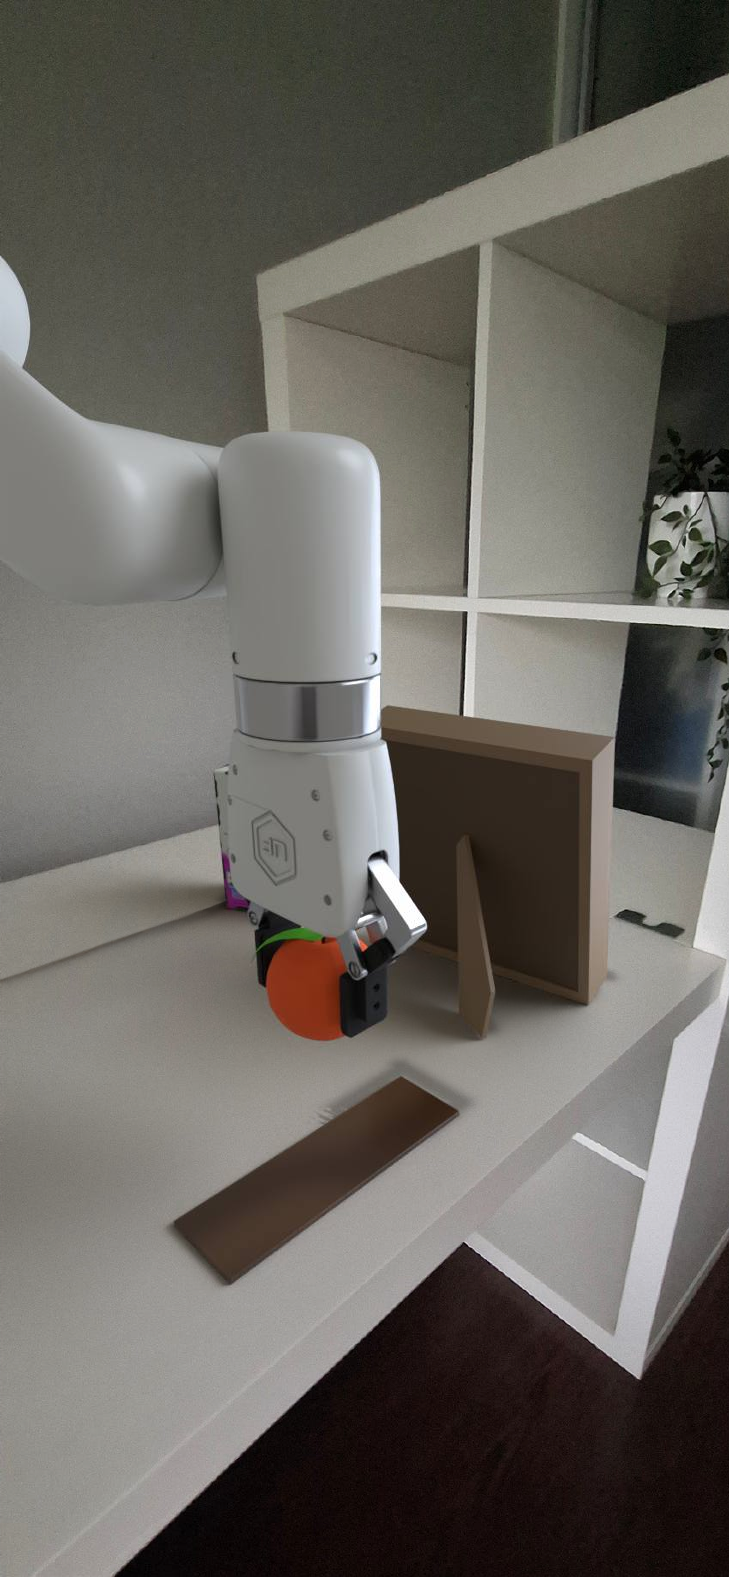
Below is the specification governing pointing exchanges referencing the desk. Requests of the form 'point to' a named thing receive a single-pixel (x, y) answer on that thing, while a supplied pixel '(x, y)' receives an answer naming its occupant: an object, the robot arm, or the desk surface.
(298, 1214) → the edge strip
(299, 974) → the clementine
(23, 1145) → the desk surface
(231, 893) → the candy bar box
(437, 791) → the photo frame
